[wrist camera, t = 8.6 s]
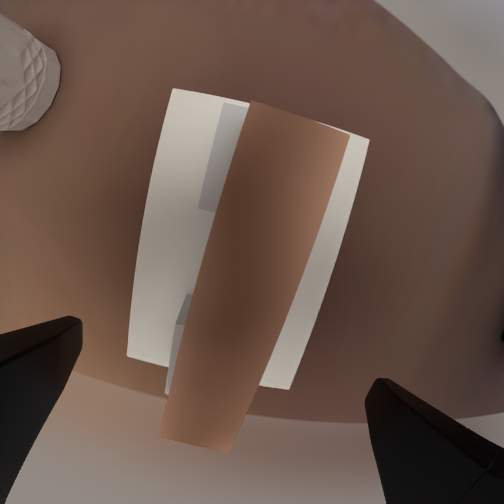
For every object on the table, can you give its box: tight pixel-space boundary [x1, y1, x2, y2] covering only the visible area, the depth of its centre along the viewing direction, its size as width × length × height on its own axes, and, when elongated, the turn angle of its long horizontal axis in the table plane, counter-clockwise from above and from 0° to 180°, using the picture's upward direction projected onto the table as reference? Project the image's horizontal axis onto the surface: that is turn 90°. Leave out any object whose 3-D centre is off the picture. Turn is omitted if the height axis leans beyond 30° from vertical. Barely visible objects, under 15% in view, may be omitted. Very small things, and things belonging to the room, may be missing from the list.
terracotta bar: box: [159, 100, 350, 452], centre depth 14 cm, size 4×15×4 cm, turn 163°
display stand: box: [127, 88, 369, 394], centre depth 18 cm, size 12×18×5 cm, turn 166°
